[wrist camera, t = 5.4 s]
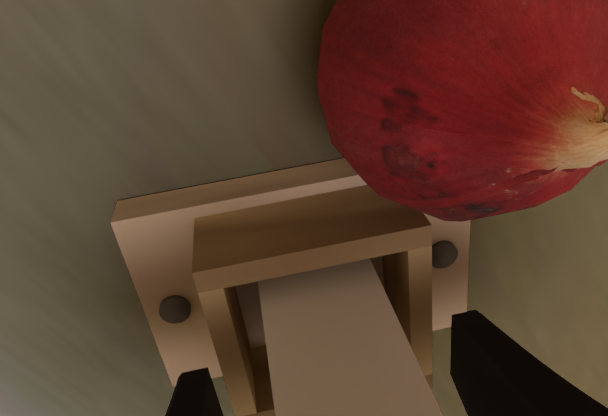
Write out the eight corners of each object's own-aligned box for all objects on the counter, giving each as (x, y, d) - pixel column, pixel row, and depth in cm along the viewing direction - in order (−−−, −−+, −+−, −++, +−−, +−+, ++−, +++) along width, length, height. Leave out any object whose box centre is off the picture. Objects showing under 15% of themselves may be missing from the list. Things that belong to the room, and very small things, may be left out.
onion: (434, 166, 16) (605, 361, 9) (259, 95, 14) (306, 275, 7) (550, -24, 13) (900, 43, 7) (360, -139, 12) (575, -214, 5)
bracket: (451, 300, 19) (501, 380, 15) (175, 359, 18) (167, 456, 15) (455, 136, 15) (519, 194, 12) (117, 200, 15) (91, 280, 11)
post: (363, 306, 16) (472, 588, 10) (270, 326, 16) (315, 627, 9) (355, 228, 15) (479, 495, 8) (253, 248, 15) (291, 540, 8)
